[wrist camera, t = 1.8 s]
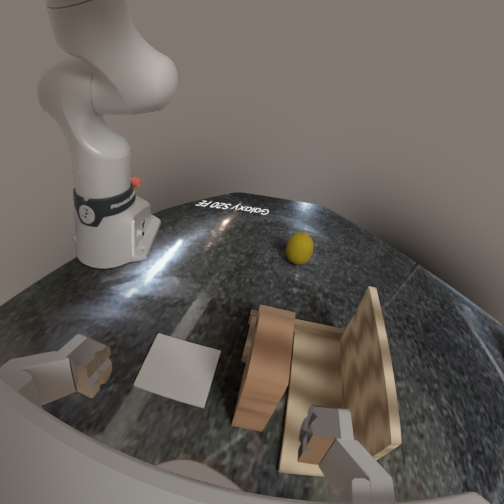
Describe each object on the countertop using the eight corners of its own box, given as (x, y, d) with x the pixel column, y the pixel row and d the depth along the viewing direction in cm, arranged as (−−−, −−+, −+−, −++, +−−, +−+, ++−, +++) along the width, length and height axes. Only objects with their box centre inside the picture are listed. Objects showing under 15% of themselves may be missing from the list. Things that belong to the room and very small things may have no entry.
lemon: (298, 275, 63) (308, 243, 58) (277, 262, 65) (286, 230, 61) (311, 265, 67) (322, 235, 62) (292, 253, 69) (300, 223, 65)
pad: (158, 334, 44) (158, 333, 44) (220, 352, 44) (220, 350, 44) (133, 386, 36) (133, 384, 36) (204, 408, 36) (204, 407, 36)
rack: (249, 318, 51) (264, 257, 43) (344, 338, 50) (374, 282, 43) (214, 460, 30) (224, 423, 23) (346, 477, 29) (401, 443, 22)
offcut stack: (249, 328, 49) (255, 303, 46) (287, 337, 49) (297, 312, 45) (241, 362, 43) (247, 337, 40) (283, 371, 43) (294, 348, 40)
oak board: (243, 371, 42) (260, 311, 34) (270, 377, 42) (294, 319, 34) (231, 425, 34) (247, 376, 27) (261, 431, 34) (288, 384, 27)
